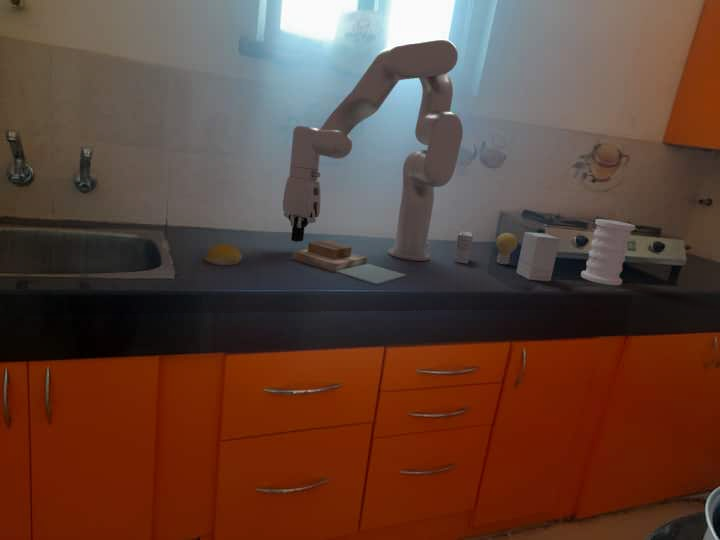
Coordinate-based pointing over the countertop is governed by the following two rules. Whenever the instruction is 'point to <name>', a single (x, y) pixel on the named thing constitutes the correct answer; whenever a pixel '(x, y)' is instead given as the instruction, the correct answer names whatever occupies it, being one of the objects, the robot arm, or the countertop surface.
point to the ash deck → (329, 260)
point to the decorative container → (608, 252)
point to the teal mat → (371, 273)
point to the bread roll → (223, 255)
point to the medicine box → (463, 247)
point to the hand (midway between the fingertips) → (297, 240)
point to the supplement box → (537, 256)
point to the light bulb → (505, 247)
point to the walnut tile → (329, 249)
